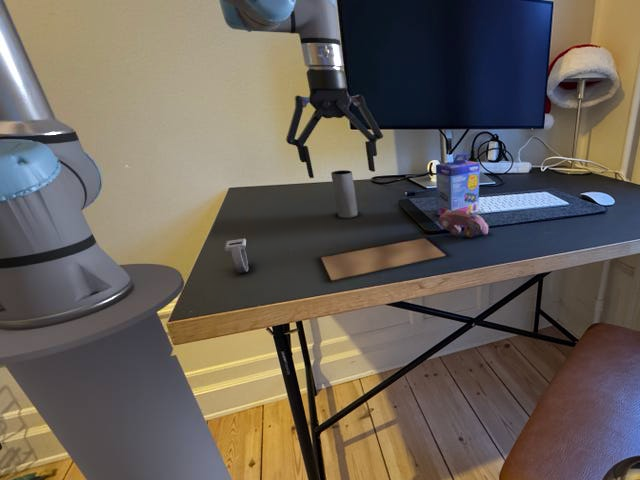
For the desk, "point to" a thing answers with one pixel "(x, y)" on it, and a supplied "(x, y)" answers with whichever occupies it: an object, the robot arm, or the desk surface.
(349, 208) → the planter
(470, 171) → the ink cartridge box
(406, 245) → the cork mat
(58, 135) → the robot arm
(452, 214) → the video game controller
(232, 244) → the wristwatch
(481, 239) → the desk surface
